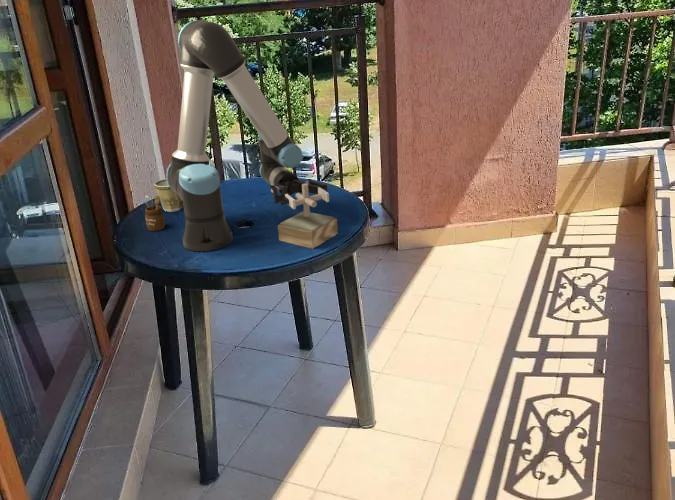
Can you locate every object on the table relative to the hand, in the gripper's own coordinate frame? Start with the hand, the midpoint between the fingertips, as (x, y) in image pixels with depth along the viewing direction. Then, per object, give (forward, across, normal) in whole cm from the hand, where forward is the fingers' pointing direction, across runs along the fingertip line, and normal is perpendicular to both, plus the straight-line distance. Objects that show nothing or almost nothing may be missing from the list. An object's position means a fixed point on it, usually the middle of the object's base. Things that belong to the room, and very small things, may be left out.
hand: (311, 201), depth 189 cm
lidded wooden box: (-4, 0, -13) cm, 14 cm away
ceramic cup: (-53, +30, -13) cm, 63 cm away
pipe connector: (-4, 0, -6) cm, 8 cm away
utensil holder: (-38, +40, -13) cm, 57 cm away
